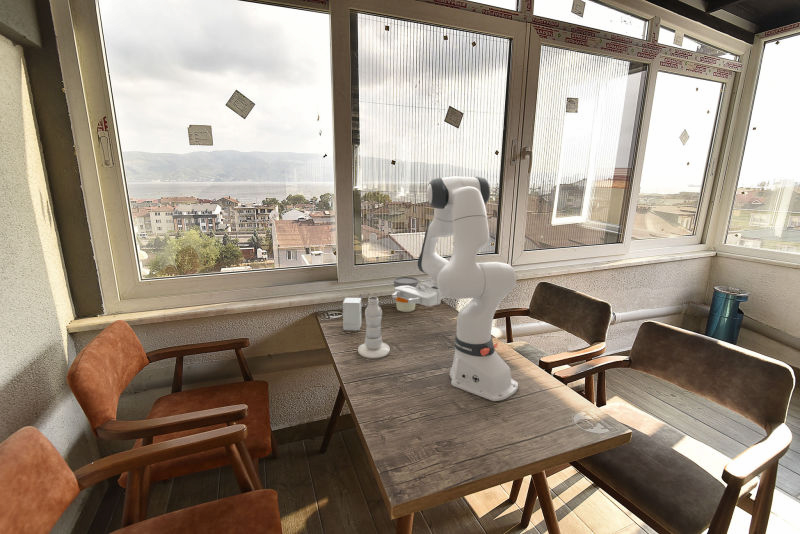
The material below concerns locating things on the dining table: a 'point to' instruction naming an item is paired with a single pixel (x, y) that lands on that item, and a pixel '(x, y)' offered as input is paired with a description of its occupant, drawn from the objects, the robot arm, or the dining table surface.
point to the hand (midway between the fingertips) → (400, 299)
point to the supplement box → (352, 314)
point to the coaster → (374, 351)
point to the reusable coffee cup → (400, 302)
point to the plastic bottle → (373, 324)
